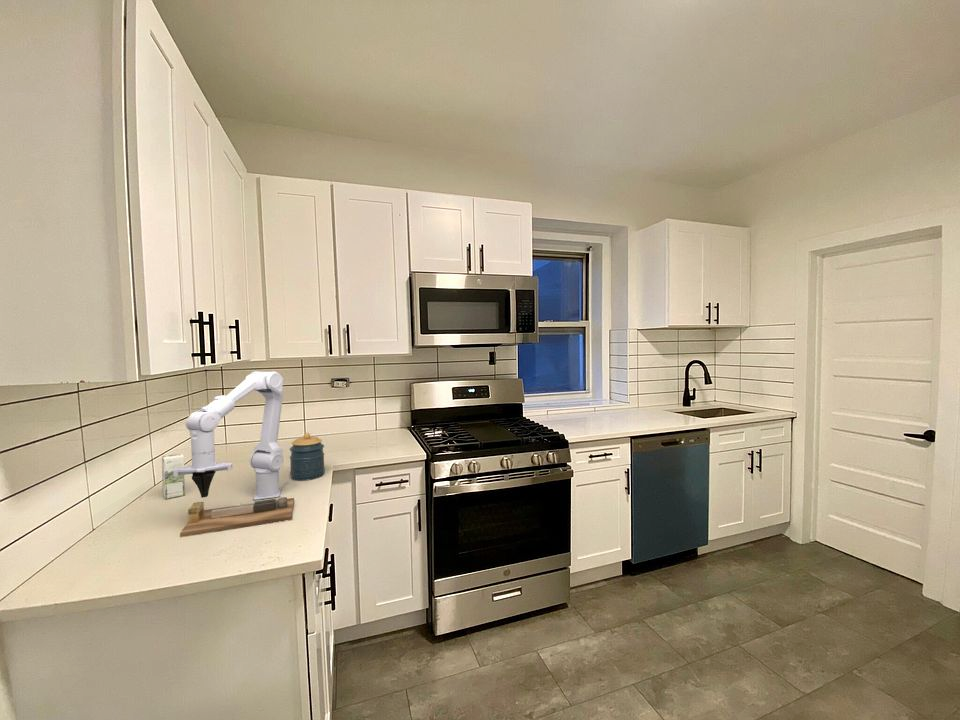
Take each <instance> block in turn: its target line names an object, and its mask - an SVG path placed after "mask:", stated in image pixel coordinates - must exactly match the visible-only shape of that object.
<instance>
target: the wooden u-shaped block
mask: <svg viewBox="0 0 960 720" xmlns="http://www.w3.org/2000/svg"><path fill="white" fill-rule="evenodd" d="M204 503H205V502H204V501H198V502H197V501H196V502H193V503H192V504H191V506H190V507H189V508H188V510H187V511H188V513H187V515H188V517H187V519H188V520H187V521H189V523H193V522H199V515H204V510H205V507H204V505H205V504H204Z"/></svg>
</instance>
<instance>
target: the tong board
mask: <svg viewBox="0 0 960 720" xmlns="http://www.w3.org/2000/svg"><path fill="white" fill-rule="evenodd" d="M273 501H275V504H276V508H275V510H270V511H263V512H256V513H247V514H240V515H233V516H226V517H219V518H212V516H211V512H212V510H216V509H224V508H231V507H238V506H245V505H253V504H258V503H265V502H273ZM294 504H295V497H291V498H288V497H286V496H285V497H284V496H283V497H278V498H268V499H261V500H254V501H251V502H244V503H243V502H242V503H240V504H239V505H231V506H226V507H225V506H224V507H217V508H210V509H204V515H199V522H193V523H189V520H187V523H186V524H185V526H184V527H183V528H182V529H181V531H180V533H179V537H180V538H182V537H183V538H184V537H190V536H195V535H203V534H209V533H215V532H216V531H217V532H221V531H223V532H224V531H228V530H233V529H234V530H236V529H241V528H248V527H253V526H254V527H255V526H261V525H266V524H267V523H268V524H273V523H274V522H275V523H280V522H279V521H281V522H286V521H285V520H288V521H292V519H291V518H293V512H292V511H294V506H293V505H294Z"/></svg>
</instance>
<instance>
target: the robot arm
mask: <svg viewBox="0 0 960 720" xmlns="http://www.w3.org/2000/svg"><path fill="white" fill-rule="evenodd" d="M283 387H284V378H283V376H282V375H281V374H280V373H279V372H277V371H275V370H274V371H256V370H255V371H251V373H250V374H248V375H246V376H245V379H244V380H243V381H241V383H240V384H238V385H237V386H236V387H235V388H233V389H232V390H231V391H230V392H229V393H227V395H224V394H223V395H222V394H221V395H217V396H215V397H213V401H211V402H210V403H208V404H207V405H206V406H203V407H201V410H199V411H194V412H192V413H191V414H190V415H189V416H188V417H187V420H186V421H185V422H184V424H185V427H186V429H187V430H188V431H189V435H190V444H191V445H190V447H191V448H190V449H191V465H190V466H189V465H188V466H184V467H181V468H175V469H174V476H179V475H184V476H185V475H191V480H192V481H193V482H194V484H195V485H196V486H197V489H198V492H199V494H200V498H202V499H203V498H208V496H209V492H210V487H211V483H212V481H213V479H214V476H215V475H216V472H222V471H228V472H229V471H232V470H233V462H216V458H215V457H216V456H215V455H216V454H215V451H216V450H215V429H217V427H218V426H219V423H220V421H221V420H222V419H223V418H224V417H226V416H227V415H228V414H229V413H230V412H232V411H233V410H234V409H235V407H236V406H235V405H236V403H237V402H239V401H240V400H242V399H243V398H245V397H246V396H248V395H249V394H250V393H251V392H253V391H255V392H256V391H257V392H258V393H260V395H262V396H263V397H264V401H265V402H264V409H263V417H262V423H261V430H260V431H261V432H260V439H259V443H258V444H257V445H255V446H254V447H253V452H252V454H251V456H250V459H249V464H250V466H251V468H253V471H254V472H255V494H254V497H253V501H260V500H268V499H275V498H280V496H281V491H282V487H281V486H280V481H279V480H280V479H279V473H280V472H279V471H280V470H281V467H282V466H283V464H284V455H283V450H284V449H283V448H282V446H280V445H279V443H278V439H279V438H278V437H279V430H280V421H281V417H282V416H281V413H282V405H283V400H284V399H283V398H284V391H283Z"/></svg>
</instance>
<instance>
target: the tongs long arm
mask: <svg viewBox="0 0 960 720" xmlns="http://www.w3.org/2000/svg"><path fill="white" fill-rule="evenodd" d="M237 506H238V505H237ZM230 507H231V506H230ZM275 508H276V504H275V501H273V502H265V503H258V504H253V505H245V506H238V507H231V508H224V509H216V508H215V509H216V510H212V512H211V516H212V518H219V517H226V516H233V515H240V514H247V513H256V512H263V511H270V510H275Z"/></svg>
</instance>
